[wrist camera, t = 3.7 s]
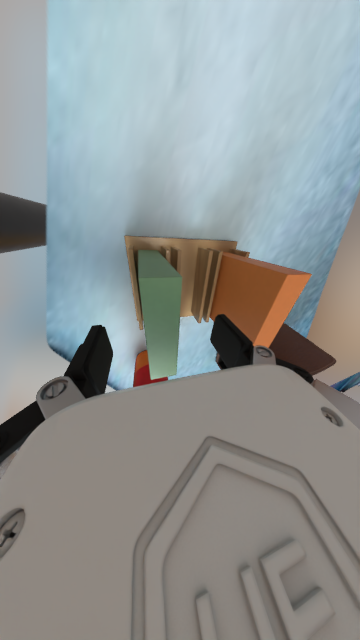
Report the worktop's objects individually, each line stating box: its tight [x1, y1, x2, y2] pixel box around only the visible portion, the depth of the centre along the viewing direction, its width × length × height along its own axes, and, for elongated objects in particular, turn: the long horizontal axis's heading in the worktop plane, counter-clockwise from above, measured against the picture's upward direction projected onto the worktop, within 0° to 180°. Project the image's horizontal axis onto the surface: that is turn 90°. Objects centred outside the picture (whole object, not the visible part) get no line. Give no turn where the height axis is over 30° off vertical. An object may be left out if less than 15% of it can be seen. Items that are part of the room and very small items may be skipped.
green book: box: [138, 250, 182, 380], centre depth 16 cm, size 3×10×13 cm, turn 176°
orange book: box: [210, 252, 312, 348], centre depth 18 cm, size 3×10×13 cm, turn 176°
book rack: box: [124, 236, 250, 330], centre depth 21 cm, size 17×13×5 cm
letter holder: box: [216, 324, 336, 376], centre depth 32 cm, size 10×20×14 cm, turn 90°
